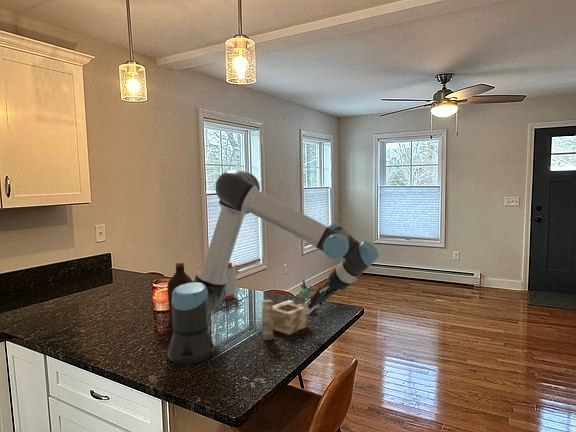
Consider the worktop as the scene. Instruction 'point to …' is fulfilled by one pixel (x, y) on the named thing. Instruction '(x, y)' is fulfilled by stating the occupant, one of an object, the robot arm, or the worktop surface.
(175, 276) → the olive oil
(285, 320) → the block
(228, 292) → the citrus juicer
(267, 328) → the dowel
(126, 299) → the worktop surface
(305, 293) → the green yellow irregular piece
